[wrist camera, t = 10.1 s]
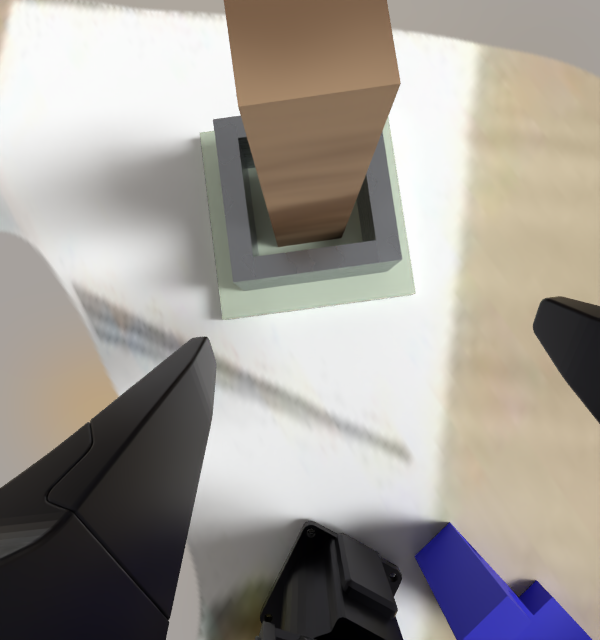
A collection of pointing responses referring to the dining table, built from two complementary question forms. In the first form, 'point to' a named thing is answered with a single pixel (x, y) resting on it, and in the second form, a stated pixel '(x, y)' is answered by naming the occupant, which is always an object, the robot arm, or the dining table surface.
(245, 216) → the steel collar
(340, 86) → the walnut post
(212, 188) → the base plate
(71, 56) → the dining table surface
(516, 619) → the cable clip
